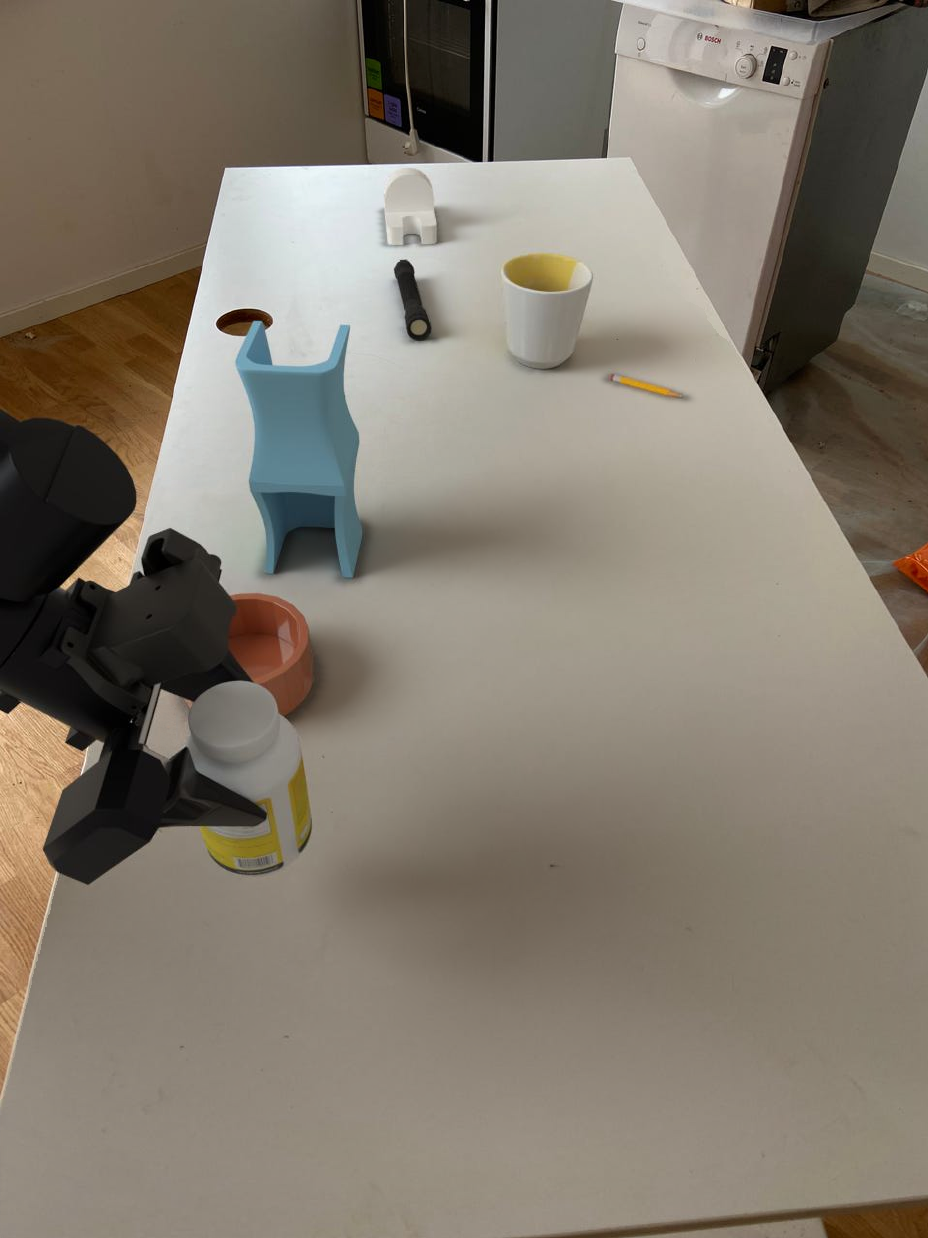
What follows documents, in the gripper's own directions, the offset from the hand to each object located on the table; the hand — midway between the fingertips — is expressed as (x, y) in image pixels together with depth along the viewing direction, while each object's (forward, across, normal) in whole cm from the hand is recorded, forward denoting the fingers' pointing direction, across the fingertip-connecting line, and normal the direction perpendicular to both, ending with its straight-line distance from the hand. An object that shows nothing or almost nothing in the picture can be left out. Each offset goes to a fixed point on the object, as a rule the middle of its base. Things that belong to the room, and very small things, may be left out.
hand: (270, 770), depth 55 cm
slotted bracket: (+13, +108, +5) cm, 109 cm away
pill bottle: (+4, 0, +6) cm, 7 cm away
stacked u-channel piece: (+8, +35, +10) cm, 37 cm away
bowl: (+5, +18, +12) cm, 23 cm away
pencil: (+32, +63, -15) cm, 72 cm away
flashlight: (+13, +82, +4) cm, 83 cm away
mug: (+24, +71, -7) cm, 76 cm away
